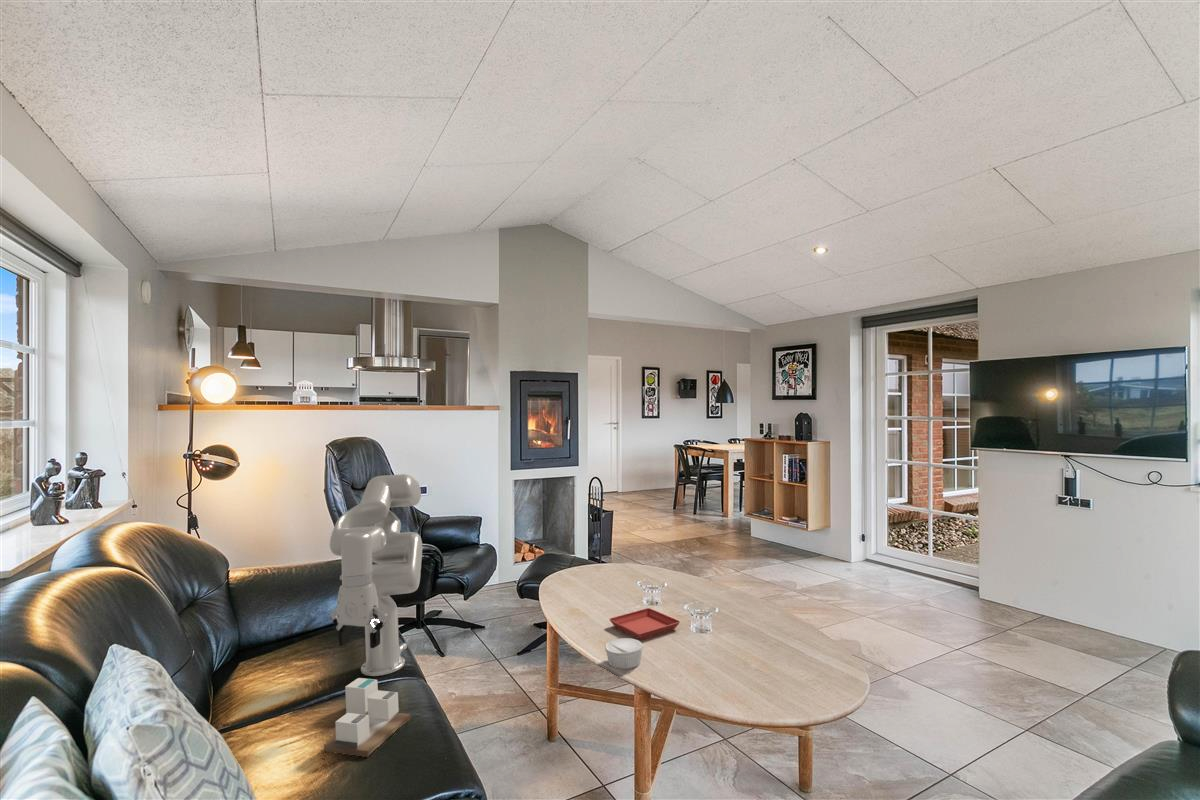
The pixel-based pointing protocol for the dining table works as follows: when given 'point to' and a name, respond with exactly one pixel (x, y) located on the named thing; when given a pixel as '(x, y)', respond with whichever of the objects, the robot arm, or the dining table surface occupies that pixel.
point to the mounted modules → (367, 717)
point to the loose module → (359, 695)
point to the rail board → (378, 735)
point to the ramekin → (624, 653)
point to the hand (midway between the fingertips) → (359, 645)
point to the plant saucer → (644, 623)
